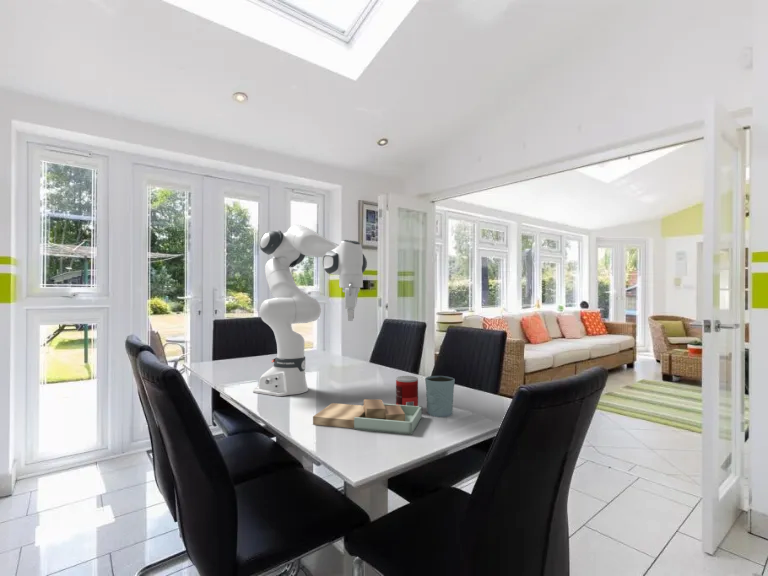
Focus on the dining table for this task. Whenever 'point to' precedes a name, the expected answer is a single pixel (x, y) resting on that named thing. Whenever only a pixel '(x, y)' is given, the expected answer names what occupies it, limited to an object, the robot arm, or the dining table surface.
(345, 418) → the board
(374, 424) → the tray
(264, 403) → the dining table surface
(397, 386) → the canned food
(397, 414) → the tile
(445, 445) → the dining table surface
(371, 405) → the tile
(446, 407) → the teal plant pot
